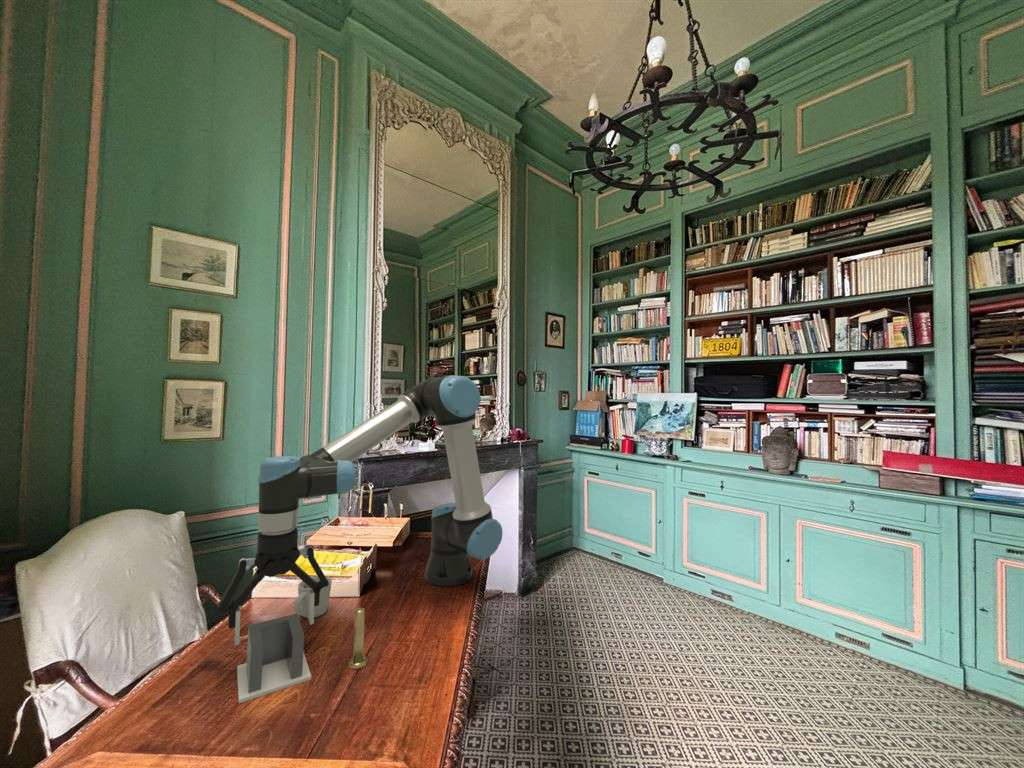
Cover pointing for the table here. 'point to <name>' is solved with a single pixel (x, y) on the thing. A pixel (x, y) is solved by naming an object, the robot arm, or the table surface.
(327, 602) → the cup
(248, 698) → the pad
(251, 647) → the grey u-shaped block
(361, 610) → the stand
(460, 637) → the table surface
